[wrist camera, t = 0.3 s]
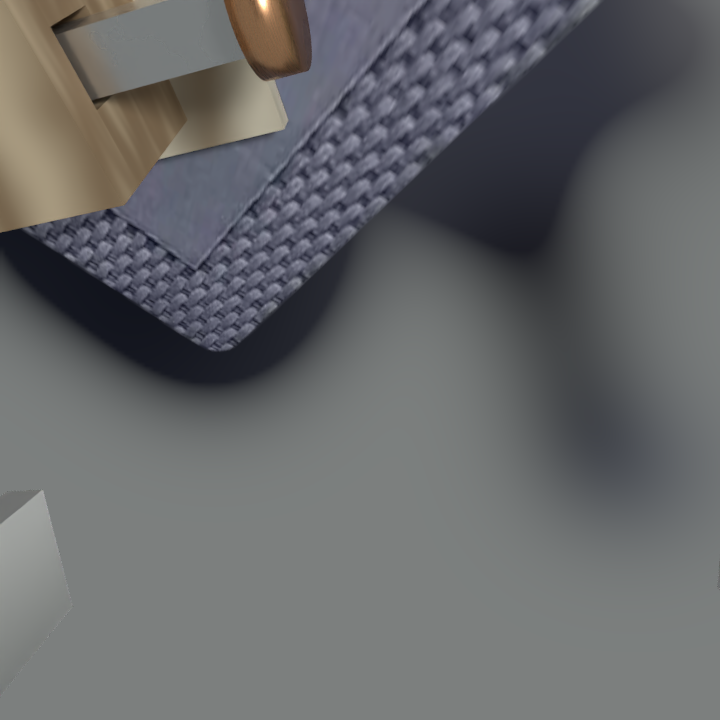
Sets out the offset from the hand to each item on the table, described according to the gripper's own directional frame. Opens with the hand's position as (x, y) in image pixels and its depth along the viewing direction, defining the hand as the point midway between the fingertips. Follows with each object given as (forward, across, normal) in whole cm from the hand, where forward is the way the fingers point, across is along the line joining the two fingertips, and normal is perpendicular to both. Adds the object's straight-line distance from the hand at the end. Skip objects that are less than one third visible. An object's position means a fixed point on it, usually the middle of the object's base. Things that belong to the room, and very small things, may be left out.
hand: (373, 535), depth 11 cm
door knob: (+23, -11, +16) cm, 30 cm away
